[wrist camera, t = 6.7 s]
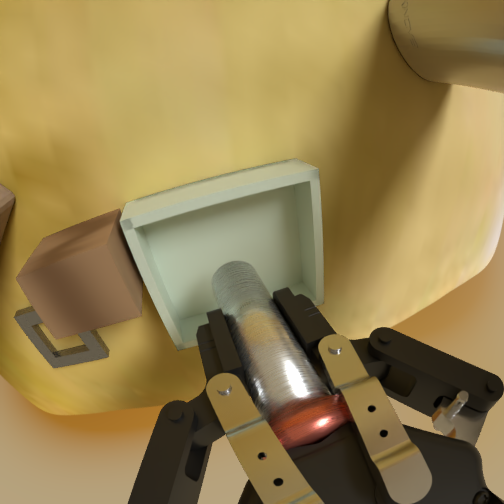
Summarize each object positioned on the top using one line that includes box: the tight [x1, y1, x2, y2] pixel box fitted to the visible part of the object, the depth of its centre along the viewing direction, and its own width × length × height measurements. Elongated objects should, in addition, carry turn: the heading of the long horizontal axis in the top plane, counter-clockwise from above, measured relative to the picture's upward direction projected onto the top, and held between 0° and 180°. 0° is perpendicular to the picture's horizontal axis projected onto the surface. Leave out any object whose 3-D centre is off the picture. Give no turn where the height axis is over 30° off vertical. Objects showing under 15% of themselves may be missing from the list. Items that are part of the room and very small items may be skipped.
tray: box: [120, 159, 324, 351], centre depth 18 cm, size 11×10×3 cm
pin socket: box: [14, 306, 109, 368], centre depth 18 cm, size 6×6×1 cm
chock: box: [16, 209, 143, 339], centre depth 15 cm, size 6×4×5 cm
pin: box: [211, 261, 350, 460], centre depth 11 cm, size 3×3×10 cm
